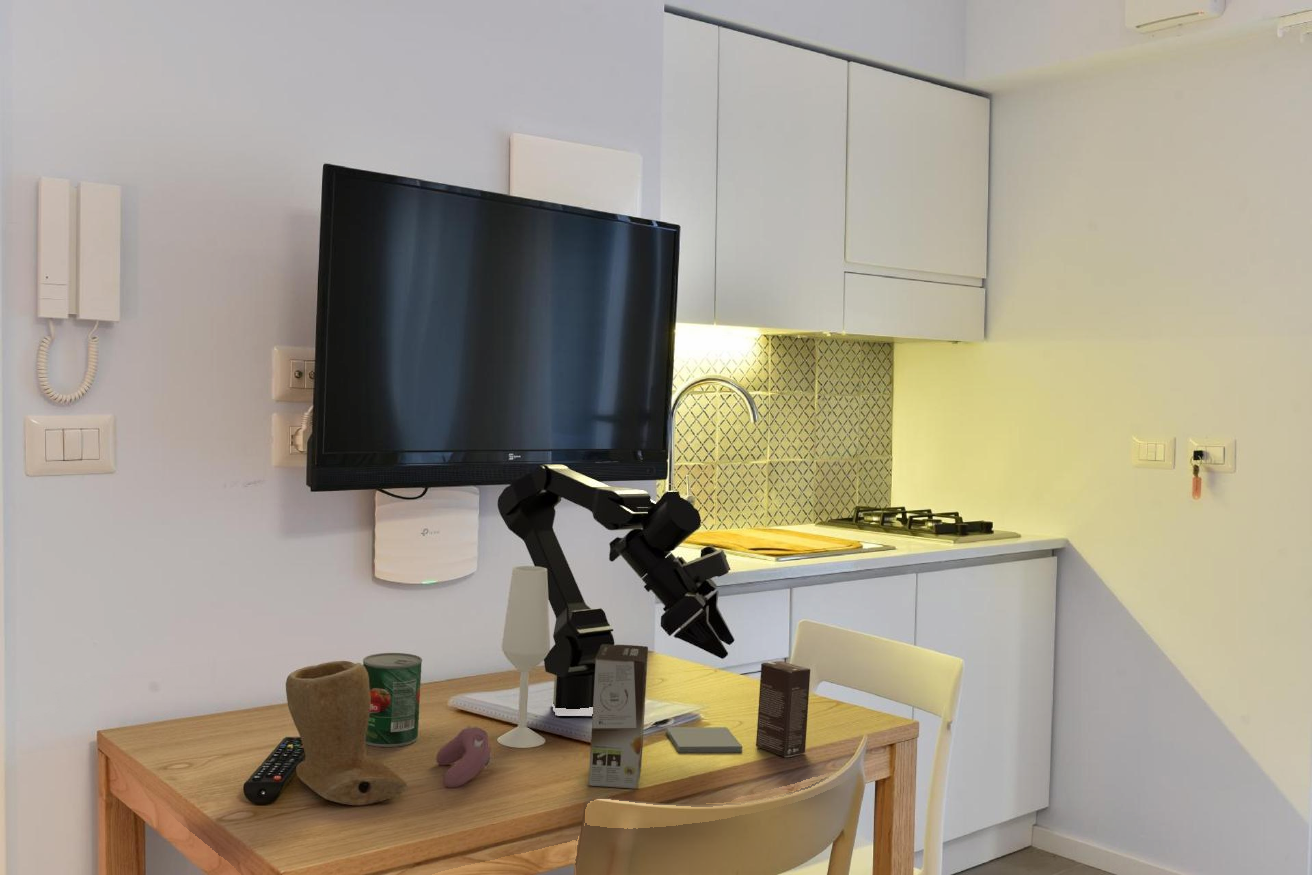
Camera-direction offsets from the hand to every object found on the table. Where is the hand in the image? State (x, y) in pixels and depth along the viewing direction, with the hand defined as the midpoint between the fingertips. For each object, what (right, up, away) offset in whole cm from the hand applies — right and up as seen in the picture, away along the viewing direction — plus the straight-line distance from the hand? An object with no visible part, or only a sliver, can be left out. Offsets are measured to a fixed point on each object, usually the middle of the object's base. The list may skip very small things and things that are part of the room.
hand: (729, 649), depth 161 cm
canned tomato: (-47, -12, -5) cm, 49 cm away
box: (+7, -14, -1) cm, 16 cm away
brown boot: (-48, -12, -26) cm, 56 cm away
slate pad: (-4, -13, +1) cm, 14 cm away
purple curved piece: (-35, -13, -18) cm, 41 cm away
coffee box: (-16, -14, -15) cm, 26 cm away
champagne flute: (-29, -12, -3) cm, 32 cm away
